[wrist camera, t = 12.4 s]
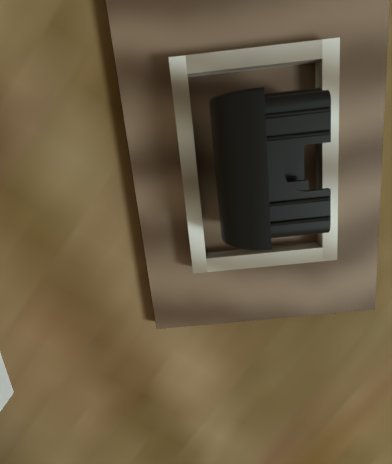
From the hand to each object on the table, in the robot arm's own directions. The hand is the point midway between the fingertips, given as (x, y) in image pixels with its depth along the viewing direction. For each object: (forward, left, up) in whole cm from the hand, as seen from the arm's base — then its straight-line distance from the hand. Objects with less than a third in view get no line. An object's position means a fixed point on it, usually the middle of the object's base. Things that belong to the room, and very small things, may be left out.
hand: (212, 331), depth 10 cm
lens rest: (-3, +5, -20) cm, 21 cm away
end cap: (-3, +5, -19) cm, 20 cm away
